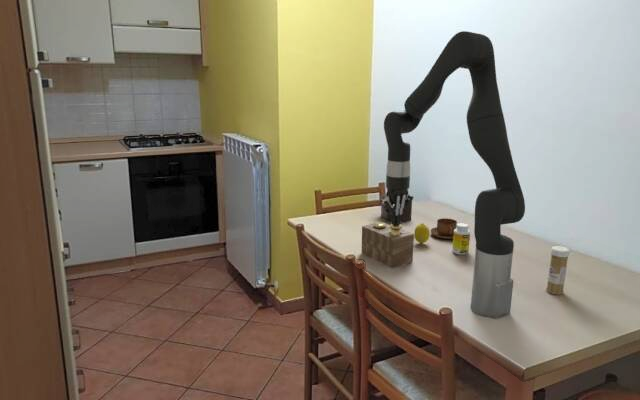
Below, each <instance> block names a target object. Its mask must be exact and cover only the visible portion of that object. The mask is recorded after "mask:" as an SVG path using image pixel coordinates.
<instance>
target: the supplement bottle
mask: <svg viewBox="0 0 640 400" xmlns="http://www.w3.org/2000/svg"><path fill="white" fill-rule="evenodd" d="M470 241H471V231H470V230H469V224H467V223H465V222H464V223H461V222H460V223H457V226H456V229H455V230H454V235H453V239H452V252H453V254H456V255H461V256H462V255H463V256H464V255H468V254H469V250H470Z"/></svg>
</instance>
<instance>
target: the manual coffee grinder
mask: <svg viewBox="0 0 640 400" xmlns="http://www.w3.org/2000/svg"><path fill="white" fill-rule="evenodd" d="M385 198H386V195H381V196H380V201H381V200H384V199H385ZM412 205H413V200H412V201H411V203H410V205H409V207H408V208H407V210H406V212H403V213H402V214H401V222H402V223H403V222H410V221H412V208H413V206H412ZM404 207H405V205H404ZM394 211H395V209H394ZM380 216H381V218H382V219H384V220H385V221H387V222H388V223H391V220H392V215H391V214H390V213H387V212H386V210H385V209H384V207H383V206H382V204H381V203H380ZM401 222H400V223H401Z"/></svg>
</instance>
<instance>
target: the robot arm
mask: <svg viewBox="0 0 640 400" xmlns="http://www.w3.org/2000/svg"><path fill="white" fill-rule="evenodd" d="M495 60H496V59H495V49H494V45H493V43H492V40H491V39H490V38H489V37H488V36H487V35H484V34H482V33H477V32H472V31H465V30H464V31H463V30H462V31H459V32H457V33H455V34H454V35H453V36H452V37H451V39H449V41H448V42H447V44H446V45H445V47H444V49H442V51H441V53H440V54H439V56H438V57H437V59H436V61H435V62H434V64H433V66H431V69H429V72H428V73H427V75H425V77H424V79H423V80H422V81H421V82H420V83H419V85H417V87H416V88H415V89H414V90H413V91H412V92H411V93H410V95H409V96H408V97H407V99H406V100H405V101H404V103H403V104H404V110H399V111H398V110H396V111H395V110H394V111H391V112H389V113H387V114H386V116H385V118H384V120H383V121H384V122H383V131H384V136H385V139H386V144H387V147H388V148H387V163H386V175H385V176H386V178H385V187H386V189H387V191H386V194H385V196H386V198H385V199H384V200H381V199H380V201H379V202H380V205H381V204H382V206H383V207H384V209H385V210H386V212H387V213H390V214H391V215H392V220H391V222H390V224H392V225H394V226H399V225H400V224H401V214H402V213H403V212H406V210H407V208H408V207H409V205H410V203H411V201H412V202H413V199H414V196H413V195H410V194H409V189H410V186H411V185H410V181H411V144H410V143H409V142H408V141H406V140H403V137H402V135H403V134H409V133H412V132H413V131H414V130H416V128H418V126H419V124H420V123H421V121H422V119H423V117H424V115H425V114H426V113H427V112H428V111H429V110H430V109H431V108H432V107H433V106H434V105H435V104H436V103H437V101H438V100H439V98H440V97H441V94H442V92H443V88H444V84H445V82H446V80H447V79H448V78H449V77H450V76H451V75H452V74H453V73H454V72H455V71H457V70H458V69H467V70H468V72H469V75H470V78H471V80H470V81H471V84H472V93H471V94H472V95H471V98H470V101H469V105H468V108H467V113H466V125H467V131H468V135H469V140H470V141H469V142H471V145H472V147H473V149H474V150H475V151H476V153H477V154H478V156H479V157H480V158H481V160H483V162H484V163H485V164H486V165H487V167H488V169H489V170H490V172H491V174H492V178H493V180H494V183H495V188H492V189H491V188H490V189H483V190H482V191H480V193H478V195H477V198H476V200H475V206H474V227H473V229H474V231H473V232H474V239H475V253H474V266H473V273H472V274H473V275H472V286H471V287H472V288H471V298H470V299H471V300H470V309H471V310H472V311H473V312H474V313H475V314H478V315H480V316H484V317H488V318H493V319H499V318H501V317H503V316H505V315H509V314H510V313H511V309H512V299H513V289H514V279H513V278H511V275H512V265H513V255H514V248H515V247H514V246H515V243H514V240H513V239H512V238H511V237H509V236H507V235H503V234H502V233H501V230H502V229H501V226H502V225H508V224H515V223H519V222H520V221H521V220H523V217H525V213H526V203H525V196H524V193H523V189H522V187H521V184H520V181H519V177H518V175H517V171H516V167H515V165H514V164H515V163H514V160H513V155H512V151H511V147H510V142H509V138H508V137H509V136H508V132H507V127H506V122H505V115H504V112H503V107H502V104H501V97H500V92H499V87H498V82H497V81H498V80H497V79H498V78H497V70H496V61H495ZM404 205H405V207H404ZM394 209H395V211H394Z"/></svg>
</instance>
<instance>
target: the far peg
mask: <svg viewBox="0 0 640 400" xmlns="http://www.w3.org/2000/svg"><path fill="white" fill-rule="evenodd" d="M384 223H385V222H383V223H379V222H375V223H373V224H374V227H375V228H377V229H382V228H385V226H386V224H387V223H386V224H384Z"/></svg>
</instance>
